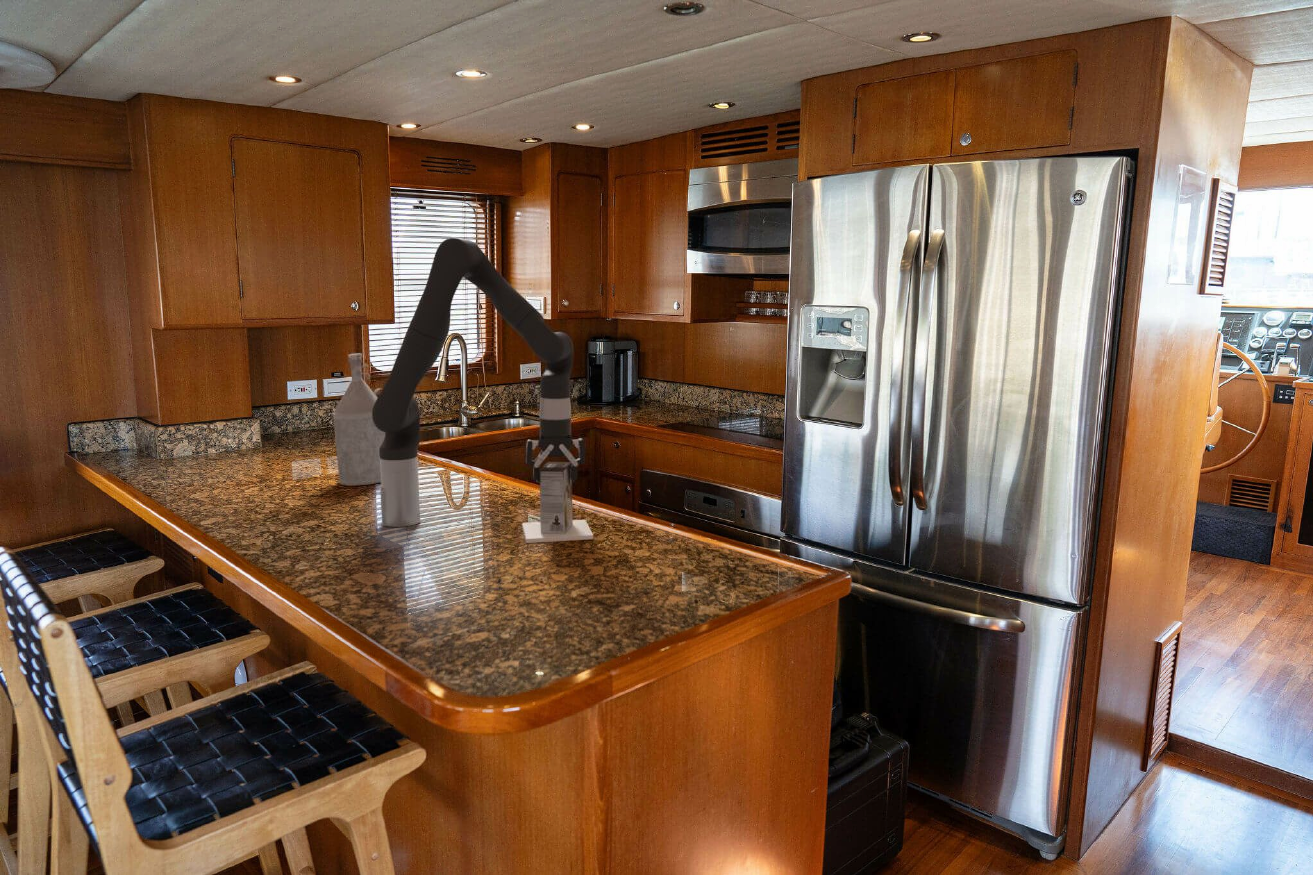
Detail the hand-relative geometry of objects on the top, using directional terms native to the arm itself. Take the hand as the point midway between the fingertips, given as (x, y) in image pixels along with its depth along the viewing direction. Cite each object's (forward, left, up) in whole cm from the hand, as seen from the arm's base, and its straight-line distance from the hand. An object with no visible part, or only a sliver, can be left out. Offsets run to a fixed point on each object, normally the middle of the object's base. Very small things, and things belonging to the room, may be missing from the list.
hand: (555, 481), depth 210 cm
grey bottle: (-52, +68, -13) cm, 87 cm away
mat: (0, 0, -13) cm, 13 cm away
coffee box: (0, 0, -12) cm, 12 cm away
